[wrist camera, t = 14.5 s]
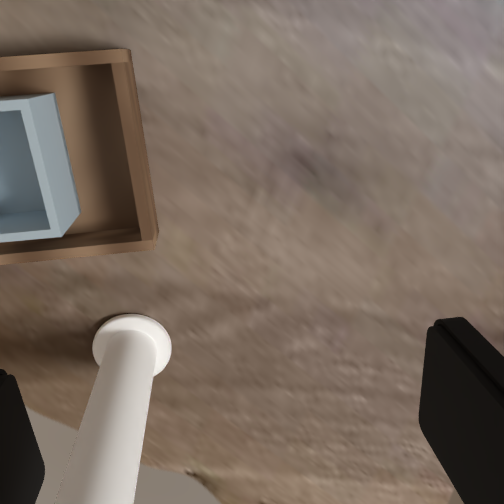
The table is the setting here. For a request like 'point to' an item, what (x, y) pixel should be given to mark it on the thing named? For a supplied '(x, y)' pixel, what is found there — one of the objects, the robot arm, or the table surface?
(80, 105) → the walnut crate
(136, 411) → the candle
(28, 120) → the bluegrey crate
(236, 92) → the table surface
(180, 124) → the table surface
